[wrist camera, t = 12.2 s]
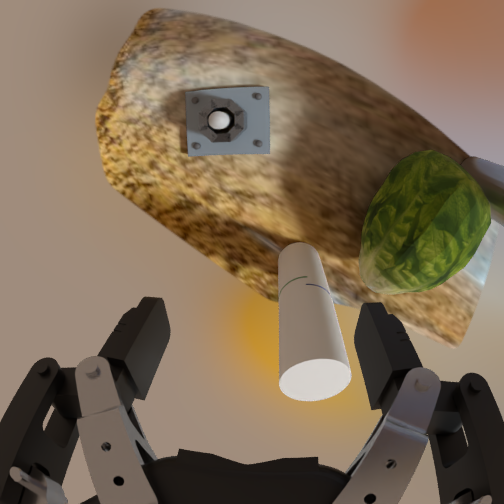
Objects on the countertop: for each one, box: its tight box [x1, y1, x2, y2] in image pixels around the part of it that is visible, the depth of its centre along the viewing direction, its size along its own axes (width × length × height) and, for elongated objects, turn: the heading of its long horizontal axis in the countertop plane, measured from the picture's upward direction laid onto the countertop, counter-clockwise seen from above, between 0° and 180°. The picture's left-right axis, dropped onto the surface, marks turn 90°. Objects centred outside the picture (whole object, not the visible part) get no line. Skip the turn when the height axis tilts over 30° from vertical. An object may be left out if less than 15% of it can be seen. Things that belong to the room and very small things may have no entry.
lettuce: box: [359, 150, 491, 294], centre depth 34 cm, size 17×23×17 cm
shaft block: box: [185, 87, 270, 157], centre depth 33 cm, size 12×10×8 cm
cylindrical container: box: [278, 242, 351, 401], centre depth 35 cm, size 7×7×25 cm
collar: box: [198, 99, 247, 143], centre depth 33 cm, size 6×6×5 cm
